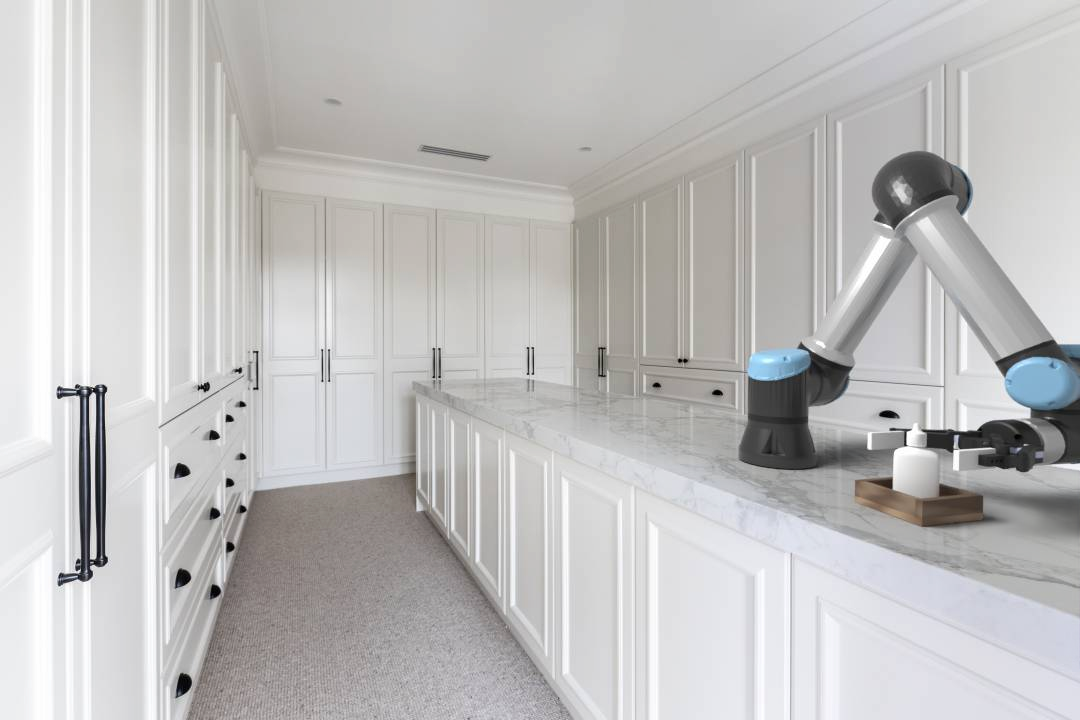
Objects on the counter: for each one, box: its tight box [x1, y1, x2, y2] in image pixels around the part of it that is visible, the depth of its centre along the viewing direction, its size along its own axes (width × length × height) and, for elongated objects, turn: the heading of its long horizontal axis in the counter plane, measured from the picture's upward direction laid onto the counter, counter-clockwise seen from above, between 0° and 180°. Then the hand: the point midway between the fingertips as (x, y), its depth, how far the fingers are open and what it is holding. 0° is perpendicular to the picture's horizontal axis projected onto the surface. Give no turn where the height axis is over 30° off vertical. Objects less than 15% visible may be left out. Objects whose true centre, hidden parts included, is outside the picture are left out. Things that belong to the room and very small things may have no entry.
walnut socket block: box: [854, 476, 984, 527], centre depth 77 cm, size 11×11×4 cm
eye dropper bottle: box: [892, 422, 941, 498], centre depth 77 cm, size 4×6×12 cm
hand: (908, 450), depth 76 cm, fingers open, 13 cm apart
